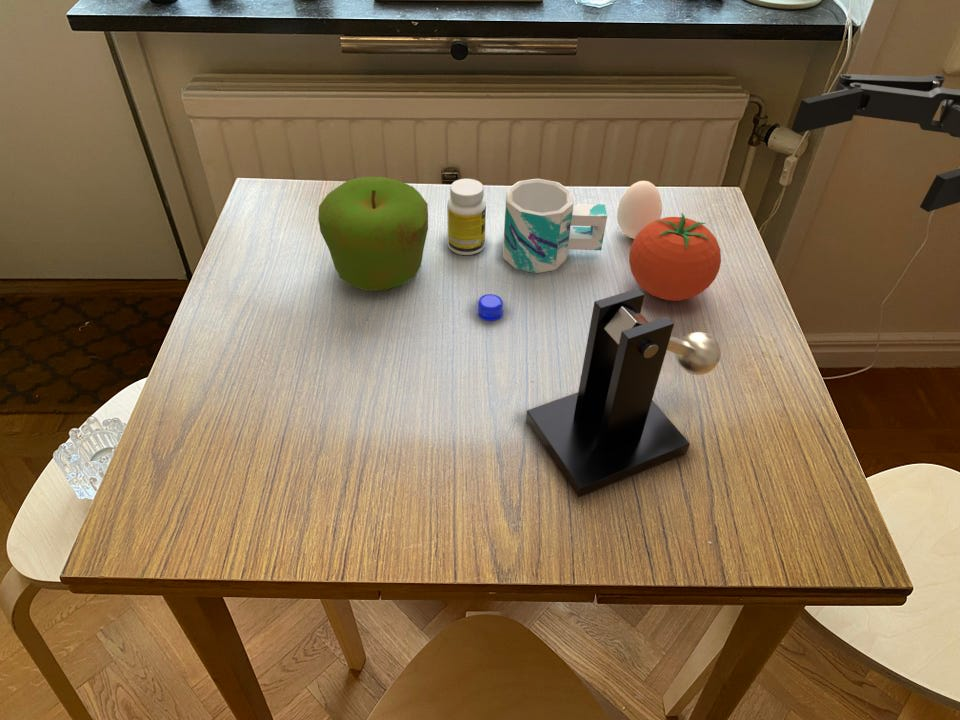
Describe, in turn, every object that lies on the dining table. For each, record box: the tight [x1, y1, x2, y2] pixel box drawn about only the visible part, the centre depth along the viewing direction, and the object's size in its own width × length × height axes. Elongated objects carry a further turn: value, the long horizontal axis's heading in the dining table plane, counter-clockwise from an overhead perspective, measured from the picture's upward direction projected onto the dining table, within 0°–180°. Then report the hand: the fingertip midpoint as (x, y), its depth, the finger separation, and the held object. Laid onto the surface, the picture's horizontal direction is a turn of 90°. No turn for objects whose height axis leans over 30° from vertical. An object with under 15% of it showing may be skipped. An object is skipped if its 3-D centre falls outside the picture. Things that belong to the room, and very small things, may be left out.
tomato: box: [628, 212, 722, 302], centre depth 81 cm, size 10×10×10 cm
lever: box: [604, 307, 722, 376], centre depth 62 cm, size 14×4×4 cm
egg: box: [616, 180, 663, 240], centre depth 90 cm, size 6×6×8 cm
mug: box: [502, 178, 608, 274], centre depth 86 cm, size 8×12×8 cm
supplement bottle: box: [446, 178, 487, 256], centre depth 87 cm, size 5×5×8 cm
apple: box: [317, 176, 429, 291], centre depth 82 cm, size 12×12×11 cm
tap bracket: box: [525, 287, 691, 498], centre depth 63 cm, size 12×10×16 cm
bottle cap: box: [476, 293, 504, 322], centre depth 80 cm, size 3×3×2 cm
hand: (860, 152), depth 57 cm, fingers open, 13 cm apart
